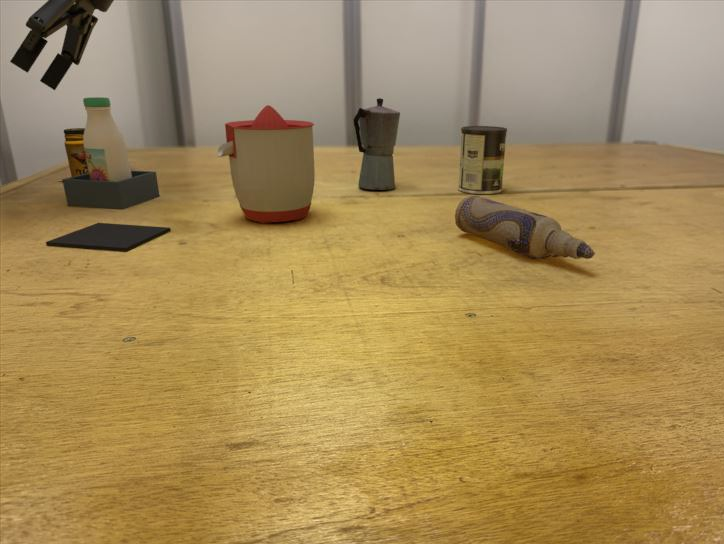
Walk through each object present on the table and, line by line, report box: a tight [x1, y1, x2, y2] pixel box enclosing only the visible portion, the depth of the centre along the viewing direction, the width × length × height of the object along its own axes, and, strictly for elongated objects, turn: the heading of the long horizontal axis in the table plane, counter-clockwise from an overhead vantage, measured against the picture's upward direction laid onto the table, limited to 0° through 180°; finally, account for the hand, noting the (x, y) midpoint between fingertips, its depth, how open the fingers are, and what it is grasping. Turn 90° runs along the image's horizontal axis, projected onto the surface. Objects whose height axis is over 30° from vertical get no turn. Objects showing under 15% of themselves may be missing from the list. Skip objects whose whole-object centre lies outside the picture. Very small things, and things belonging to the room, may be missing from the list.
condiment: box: [58, 127, 89, 182], centre depth 134 cm, size 7×8×12 cm
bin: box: [61, 170, 161, 210], centre depth 114 cm, size 12×12×5 cm
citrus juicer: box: [216, 104, 316, 224], centre depth 100 cm, size 16×17×20 cm
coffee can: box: [457, 125, 508, 195], centre depth 127 cm, size 10×10×14 cm
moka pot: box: [353, 97, 401, 191], centre depth 126 cm, size 10×15×20 cm, turn 149°
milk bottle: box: [82, 96, 132, 182], centre depth 111 cm, size 8×8×20 cm
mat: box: [45, 222, 172, 253], centre depth 90 cm, size 14×12×1 cm
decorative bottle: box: [454, 194, 596, 260], centre depth 85 cm, size 26×8×7 cm, turn 34°
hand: (33, 77), depth 101 cm, fingers open, 13 cm apart
